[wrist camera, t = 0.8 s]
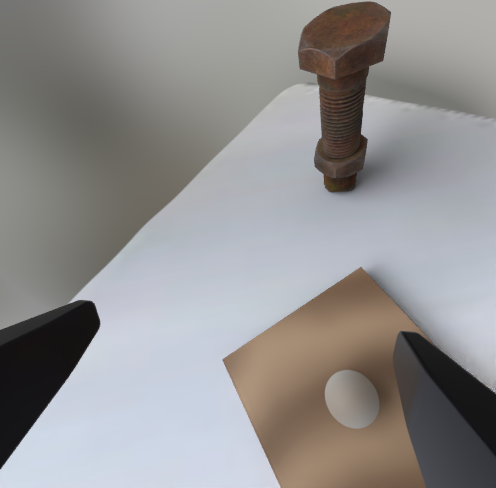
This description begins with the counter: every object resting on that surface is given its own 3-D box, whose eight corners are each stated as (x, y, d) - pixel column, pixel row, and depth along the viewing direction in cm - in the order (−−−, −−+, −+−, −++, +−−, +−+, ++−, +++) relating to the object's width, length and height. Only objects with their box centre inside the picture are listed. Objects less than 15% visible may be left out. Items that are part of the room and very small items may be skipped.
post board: (518, 445, 16) (581, 465, 12) (330, 578, 16) (328, 645, 12) (359, 273, 24) (364, 248, 20) (228, 361, 24) (205, 355, 19)
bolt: (321, 163, 31) (311, 6, 18) (368, 164, 29) (394, -10, 16) (310, 204, 29) (291, 58, 16) (361, 209, 27) (384, 48, 14)
